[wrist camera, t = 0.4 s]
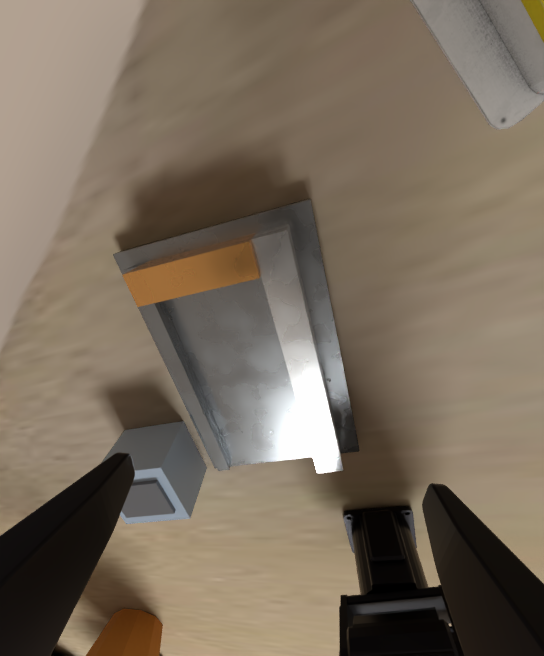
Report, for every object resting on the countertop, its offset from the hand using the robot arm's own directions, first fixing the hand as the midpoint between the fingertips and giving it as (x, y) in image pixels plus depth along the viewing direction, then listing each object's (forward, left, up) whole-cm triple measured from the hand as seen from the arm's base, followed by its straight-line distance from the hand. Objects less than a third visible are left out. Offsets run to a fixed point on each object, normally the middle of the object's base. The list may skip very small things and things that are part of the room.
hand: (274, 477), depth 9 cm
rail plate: (-3, +4, -14) cm, 14 cm away
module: (-11, +15, -14) cm, 23 cm away
